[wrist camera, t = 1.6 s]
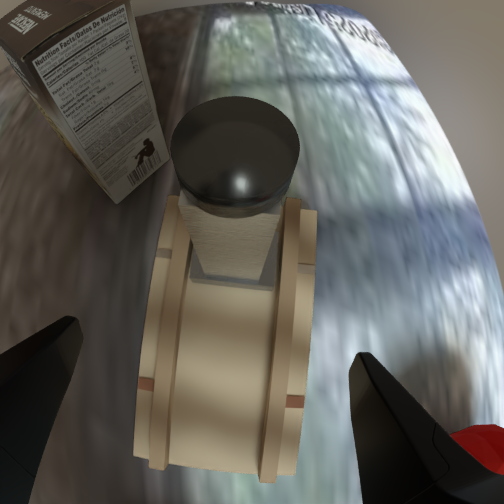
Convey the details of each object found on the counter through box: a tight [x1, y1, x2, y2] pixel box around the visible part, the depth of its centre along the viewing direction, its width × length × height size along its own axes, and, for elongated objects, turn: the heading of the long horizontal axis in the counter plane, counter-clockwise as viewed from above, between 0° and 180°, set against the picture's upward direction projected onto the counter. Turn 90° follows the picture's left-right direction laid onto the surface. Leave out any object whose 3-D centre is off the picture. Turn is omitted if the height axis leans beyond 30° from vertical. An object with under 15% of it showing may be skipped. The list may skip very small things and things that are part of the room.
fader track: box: [133, 195, 317, 483], centre depth 20 cm, size 19×11×3 cm, turn 174°
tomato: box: [450, 424, 504, 475], centre depth 13 cm, size 11×13×10 cm
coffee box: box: [0, 0, 170, 204], centre depth 18 cm, size 9×6×16 cm
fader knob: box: [170, 96, 300, 291], centre depth 15 cm, size 4×5×13 cm
